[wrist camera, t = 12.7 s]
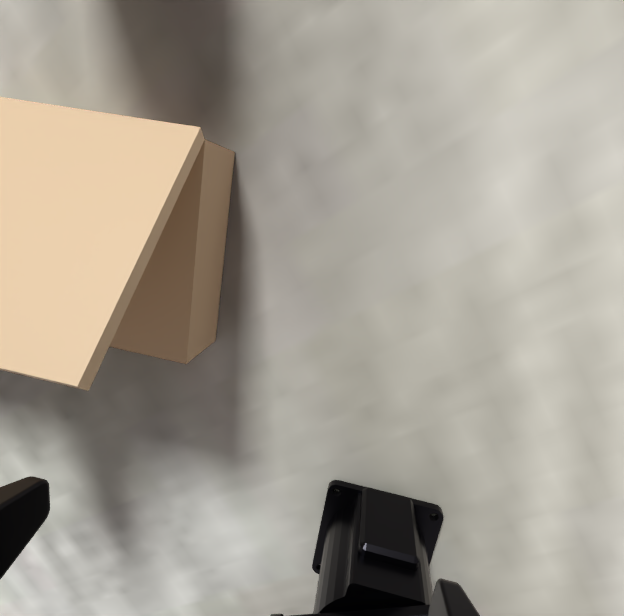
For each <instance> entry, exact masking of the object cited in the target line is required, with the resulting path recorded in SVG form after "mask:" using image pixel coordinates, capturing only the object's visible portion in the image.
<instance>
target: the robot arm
mask: <svg viewBox="0 0 624 616" xmlns="http://www.w3.org/2000/svg"><path fill="white" fill-rule="evenodd" d="M335 488H337V489H339V490H340V491H335V490H334V489H335ZM49 511H50V495H49V483H48V482H47V480H45V479H41V478H37V477H27V478H24V479H21V480H18V481H16V482H13V483H10V484H8V485H5V486H2V487H0V579H1V578H2V577H3V575H4V574H5V573H6V571H7V570H8V569H9V567H10V566H11V565H12V563H13V562H14V561H15V560H16V558H17V557H18V556H19V554H20V553H21V552H22V550H23V549H24V548H25V546H26V545H27V544H28V542H29V541H30V540H31V538H32V537H33V536H34V534H35V533H36V532H37V531H38V529H39V528H40V527H41V525H42V524H43V523H44V521H45V520H46V518H47V516H48V514H49ZM432 513H436V514H437V515H430V514H432ZM442 521H443V513H442V510H441V508H440V507H439V506H438V505H435V504H432V503H428V502H424V501H420V500H416V499H412V498H408V497H404V496H400V495H396V494H392V493H388V492H384V491H380V490H376V489H372V488H367V487H363V486H359V485H355V484H351V483H347V482H343V481H339V480H334V481H331V482H330V483H329V486H328V491H327V496H326V501H325V505H324V510H323V515H322V520H321V525H320V530H319V535H318V540H317V545H316V549H315V554H314V559H313V565H312V568H313V570H314V571H315V572H316V573H318V574H319V581H318V587H317V593H316V600H315V606H314V612H313V614H303V615H291V616H480V615H479V613H478V612H477V610H476V609H475V607H474V606H473V604H472V603H471V601H470V600H469V598H468V597H467V595H466V593H465V592H464V590H463V589H462V587H461V586H460V585H459V584H458V583H456V582H452V581H448V580H444V579H439V580H438V581H437V582H436V585H435V589H434V592H433V593H432V586H431V579H430V573H429V564H430V561H431V558H432V554H433V551H434V548H435V544H436V541H437V538H438V534H439V531H440V528H441V525H442ZM319 564H321V565H319ZM270 616H283V614H271V615H270Z"/></svg>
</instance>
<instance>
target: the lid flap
mask: <svg viewBox="0 0 624 616" xmlns="http://www.w3.org/2000/svg"><path fill="white" fill-rule="evenodd" d="M204 140H205V139H204V136H203V133H202V130H201V127H196V126H189V125H182V124H176V123H169V122H163V121H156V120H149V119H143V118H136V117H129V116H123V115H116V114H110V113H103V112H96V111H90V110H83V109H77V108H70V107H63V106H57V105H50V104H43V103H37V102H30V101H24V100H17V99H10V98H4V97H0V370H3V371H7V372H11V373H16V374H20V375H24V376H28V377H32V378H36V379H41V380H45V381H49V382H53V383H57V384H61V385H66V386H70V387H74V388H78V389H82V390H86V391H89V389H90V387H91V385H92V383H93V381H94V378H95V376H96V374H97V372H98V370H99V368H100V365H101V363H102V361H103V359H104V357H105V355H106V352H107V350H108V348H109V346H110V344H111V342H112V339H113V337H114V335H115V333H116V331H117V329H118V326H119V324H120V322H121V320H122V318H123V316H124V313H125V311H126V309H127V307H128V305H129V303H130V300H131V298H132V296H133V294H134V292H135V290H136V287H137V285H138V283H139V281H140V279H141V277H142V274H143V272H144V270H145V268H146V266H147V263H148V261H149V259H150V257H151V255H152V253H153V250H154V248H155V246H156V244H157V242H158V240H159V237H160V235H161V233H162V231H163V229H164V227H165V224H166V222H167V220H168V218H169V216H170V214H171V211H172V209H173V207H174V205H175V203H176V201H177V198H178V196H179V194H180V192H181V190H182V188H183V185H184V183H185V181H186V179H187V177H188V175H189V172H190V170H191V168H192V166H193V164H194V162H195V159H196V157H197V155H198V153H199V151H200V149H201V146H202V144H203V142H204Z"/></svg>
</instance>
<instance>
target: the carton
mask: <svg viewBox="0 0 624 616" xmlns="http://www.w3.org/2000/svg"><path fill="white" fill-rule="evenodd" d="M234 157H235V152H233V151H231V150H229V149H226V148H224V147H221V146H219V145H217V144H214V143H212V142H209V141H207V140H204V142H203V144H202V146H201V149H200V151H199V153H198V155H197V157H196V159H195V162H194V164H193V166H192V168H191V170H190V172H189V175H188V177H187V179H186V181H185V183H184V185H183V188H182V190H181V192H180V194H179V196H178V198H177V201H176V203H175V205H174V207H173V209H172V211H171V214H170V216H169V218H168V220H167V222H166V224H165V227H164V229H163V231H162V233H161V235H160V237H159V240H158V242H157V244H156V246H155V248H154V250H153V253H152V255H151V257H150V259H149V261H148V263H147V266H146V268H145V270H144V272H143V274H142V277H141V279H140V281H139V283H138V285H137V287H136V290H135V292H134V294H133V296H132V298H131V300H130V303H129V305H128V307H127V309H126V311H125V313H124V316H123V318H122V320H121V322H120V324H119V326H118V329H117V331H116V333H115V335H114V337H113V339H112V342H111V344H110V346H109V347H113V348H117V349H121V350H126V351H130V352H135V353H139V354H144V355H148V356H153V357H157V358H162V359H166V360H170V361H175V362H179V363H184V364H187V363H188V362H190V361H191V360H192V359H193V358H195V357H196V356H197V355H198V354H200V353H201V352H202V351H203V350H205V349H206V348H207V347H208V346H210V345H211V344H212V343H213V342H215V341H216V331H217V322H218V312H219V302H220V292H221V283H222V273H223V263H224V254H225V244H226V234H227V225H228V215H229V205H230V195H231V186H232V176H233V166H234Z"/></svg>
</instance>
